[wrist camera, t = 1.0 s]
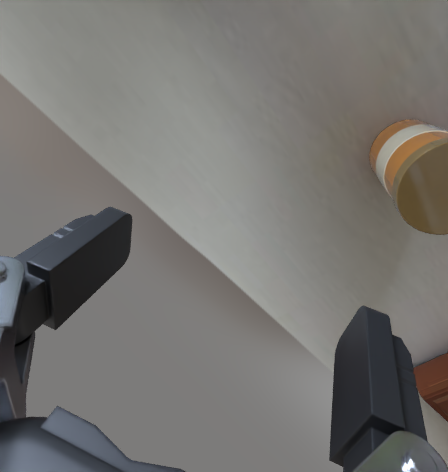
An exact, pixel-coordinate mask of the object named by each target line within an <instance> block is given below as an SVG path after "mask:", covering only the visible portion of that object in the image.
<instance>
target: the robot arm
mask: <svg viewBox="0 0 448 472" xmlns="http://www.w3.org/2000/svg"><path fill="white" fill-rule="evenodd" d="M131 231H132V216H131V215H130V214H128V213H125V212H123V211H120V210H118V209H115V208H113V207H108V208H106V209H104V210H103V211H101V212H100V213H98V214H97V215H95V216H93V215H88V216H85V217H81V218H78V219H75V220H73V221H72V222H70V223H69V224H67V225H65V226H64V228H63V229H62V228H61V229H59V230H57V231H56V232H54V234H53V235H52V234H51V235H49V236H48V237H46V238H45V239H43V240H41V241H40V242H38V243H37V244H35V245H33V246H32V247H30V248H29V249H27V250H25V251H24V252H22V253H21V254H19V255H18V256H16V257H14V258H12V257H8V256H0V472H185V471H183V470H181V469H178V468H172V467H166V466H161V465H155V464H149V463H143V462H138V461H133V460H131V459H129V458H128V457H126V456H125V455H124V454H123V453H122V452H121V451H120V450H119V449H118V448H117V447H116V446H115V445H114V444H113V442H112V441H110V439H109V438H108V437H107V436H105V435H104V433H103V432H101V430H100V429H99V428H98V427H97V426H96V425H93V424H92V423H90V422H88V421H86V420H84V419H82V418H80V417H78V416H76V415H74V414H72V413H70V412H68V411H66V410H64V409H62V408H61V407H59V406H57V407H56V408H55V409H54V411H53V412H52V413H51V415H49V417H48V418H47V417H26V392H27V385H28V379H29V372H30V366H31V360H32V352H33V347H34V340H35V330H36V329H37V328H39V327H40V326H41V325H42V324H44V325H46V326H48V327H50V328H53V329H54V330H56V329H57V328H58V327H59V326H61V325H62V324H63V323H64V322H65V321H66V320H67V319H68V318H69V317H70V316H71V315H72V314H73V313H74V312H75V311H76V310H77V309H78V308H79V307H80V306H81V305H82V304H83V303H85V302H86V301H87V300H88V299H89V298H90V297H91V296H92V295H93V294H94V293H95V292H96V291H97V290H98V289H99V288H100V287H101V286H102V285H103V284H104V283H105V282H106V281H107V280H109V279H110V278H111V277H112V276H113V275H114V274H115V273H116V272H117V271H118V270H119V269H120V268H121V267H122V266H123V265H124V264H125V262H126V260H127V258H128V256H129V253H130V245H131ZM413 372H414V369H413V364H412V359H411V354H410V353H409V351H408V349H407V348H406V346H405V344H404V343H403V341H402V339H401V338H399V337H396V336H394V335H392V331H391V324H390V318H389V316H388V315H386V314H384V313H381V312H379V311H376V310H374V309H371V308H368V307H366V306H361V307H360V308H359V310H358V311H357V313H356V314H355V316H354V317H353V319H352V320H351V322H350V323H349V325H348V326H347V328H346V330H345V331H344V333H343V334H342V336H341V337H340V339H339V342H338V344H337V348H336V352H335V363H334V382H333V401H332V420H331V439H330V458H329V460H330V461H332V462H334V463H336V464H338V465H340V466H342V467H343V472H448V466H447V465H446V463H445V461H444V460H443V458H442V457H441V456H440V454H439V453H438V452H437V451H436V450H435V449H434V448H433V447H432V446H431V445H430V444H429V443H428V441H427V436H426V431H425V426H424V421H423V415H422V410H421V405H420V400H419V395H418V390H417V388H416V379H415V374H413Z"/></svg>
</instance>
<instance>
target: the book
mask: <svg viewBox="0 0 448 472" xmlns="http://www.w3.org/2000/svg"><path fill="white" fill-rule="evenodd" d="M413 369H414V372H413V374H415V379H416V387H417V389H418V391H419V393H420V395H421V397H422V398H423V399H424V400H425V401H426V402H427V403H428V404H429V405H430V406H431V407H432V408H433V409H434V410H435V411H437V412H438V413H439V414H440V415H441V416H442V417H443V418H444V419H445V420H446V421H447V422H448V353H446V354H444V355H441V356H439V357H437V358H435V359H432V360H430V361H428V362H426V363H423V364H421V365H419V366H417V367H414V368H413Z"/></svg>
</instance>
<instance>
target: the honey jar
mask: <svg viewBox="0 0 448 472" xmlns="http://www.w3.org/2000/svg"><path fill="white" fill-rule="evenodd" d="M369 161H370V165H371V168H372V170H373V172H374V173H375V175H376V176H377V177H378V179H379V181H380V183H381V184H382V185H383V187H384V188H385V190H386V191H387V192H388V194H389V195H390V196H391V197H392V198H393V202H394V205H395V207H396V209H397V210H398V212H399V213H400V215H401V216H402V217H403V219H404V220H405V221H406V222H407V223H408V224H409V225H410V226H412V227H413V228H415V229H417V230H419V231H422V232H425V233H429V234H436V235H445V234H448V131H446V130H444V129H442V128H439V127H437V126H433V125H431V124H428V123H426V122H423V121H420V120H413V119H410V120H402V121H399V122H396V123H394V124H392V125H390V126H388V127H387V128H386V129H384V130H383V131H382V132H381V133H380V134H379V135H378V136H377V138H376V139H375V141H374V142H373V144H372V147H371V150H370V156H369Z"/></svg>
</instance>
